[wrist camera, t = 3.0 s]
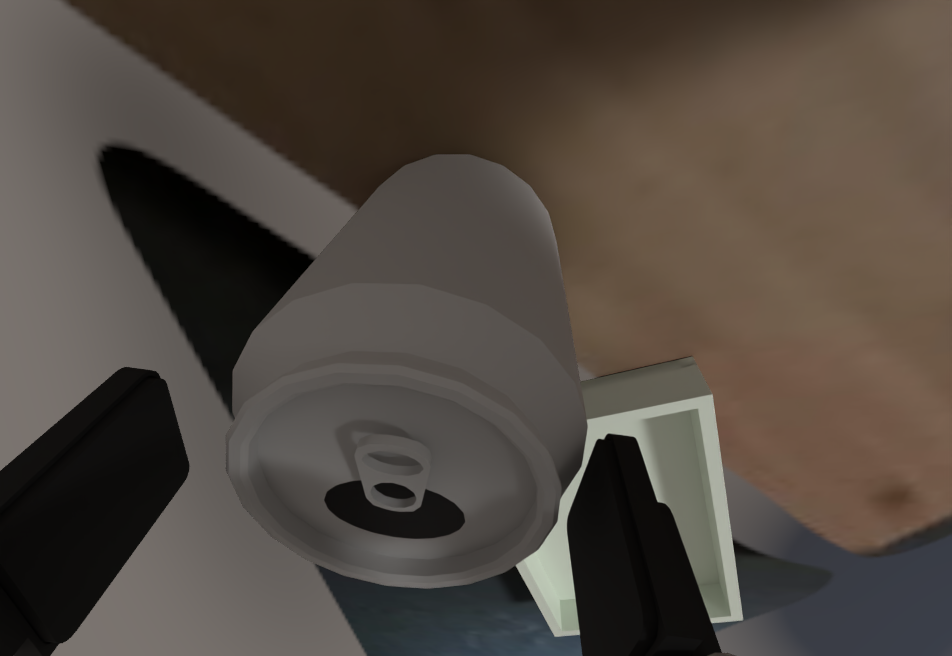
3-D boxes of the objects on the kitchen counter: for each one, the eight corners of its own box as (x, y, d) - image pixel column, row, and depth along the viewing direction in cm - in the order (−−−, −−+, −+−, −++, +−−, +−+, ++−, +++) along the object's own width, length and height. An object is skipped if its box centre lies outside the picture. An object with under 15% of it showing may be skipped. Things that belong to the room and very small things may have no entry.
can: (365, 311, 20) (218, 585, 10) (366, 131, 16) (125, 299, 6) (533, 337, 21) (547, 635, 11) (577, 165, 16) (666, 385, 6)
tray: (456, 409, 23) (450, 447, 21) (692, 356, 20) (712, 394, 18) (552, 596, 32) (555, 636, 30) (727, 577, 29) (743, 620, 27)
